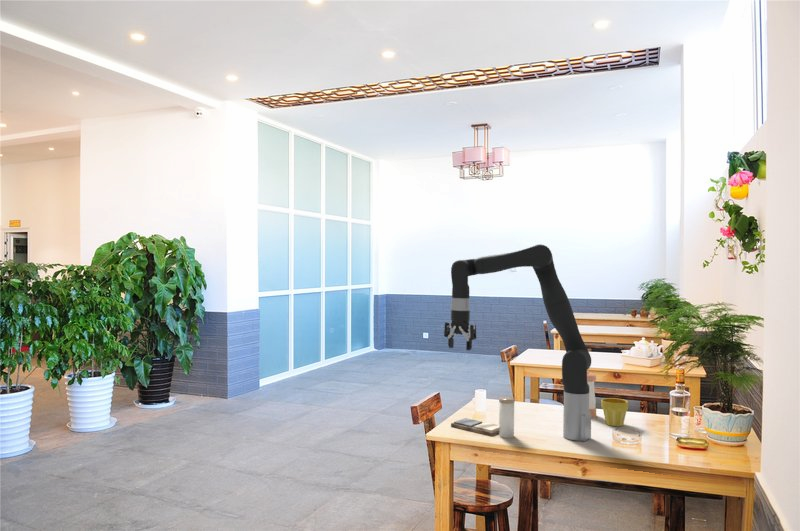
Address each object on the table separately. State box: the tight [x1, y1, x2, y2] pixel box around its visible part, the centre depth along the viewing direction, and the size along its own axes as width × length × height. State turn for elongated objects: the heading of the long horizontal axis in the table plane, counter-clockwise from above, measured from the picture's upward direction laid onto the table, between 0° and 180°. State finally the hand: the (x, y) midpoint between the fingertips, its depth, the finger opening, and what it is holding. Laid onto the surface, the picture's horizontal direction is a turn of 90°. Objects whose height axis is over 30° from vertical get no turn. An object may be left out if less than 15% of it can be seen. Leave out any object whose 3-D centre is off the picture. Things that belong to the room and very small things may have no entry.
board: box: [450, 417, 499, 437], centre depth 229 cm, size 19×10×2 cm, turn 49°
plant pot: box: [600, 397, 629, 427], centre depth 237 cm, size 10×10×10 cm
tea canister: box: [498, 396, 516, 439], centre depth 220 cm, size 6×6×14 cm
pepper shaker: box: [587, 370, 597, 419], centre depth 251 cm, size 7×7×19 cm
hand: (459, 349), depth 235 cm, fingers open, 8 cm apart
